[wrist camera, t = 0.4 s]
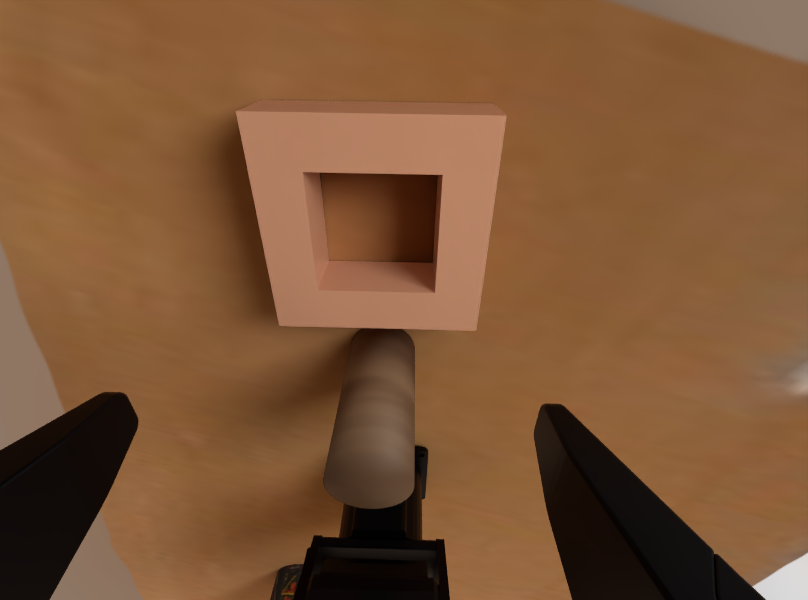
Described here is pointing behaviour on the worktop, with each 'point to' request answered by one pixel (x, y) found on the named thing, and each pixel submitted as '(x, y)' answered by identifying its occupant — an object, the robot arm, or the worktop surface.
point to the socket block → (379, 154)
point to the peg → (375, 422)
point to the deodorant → (286, 582)
